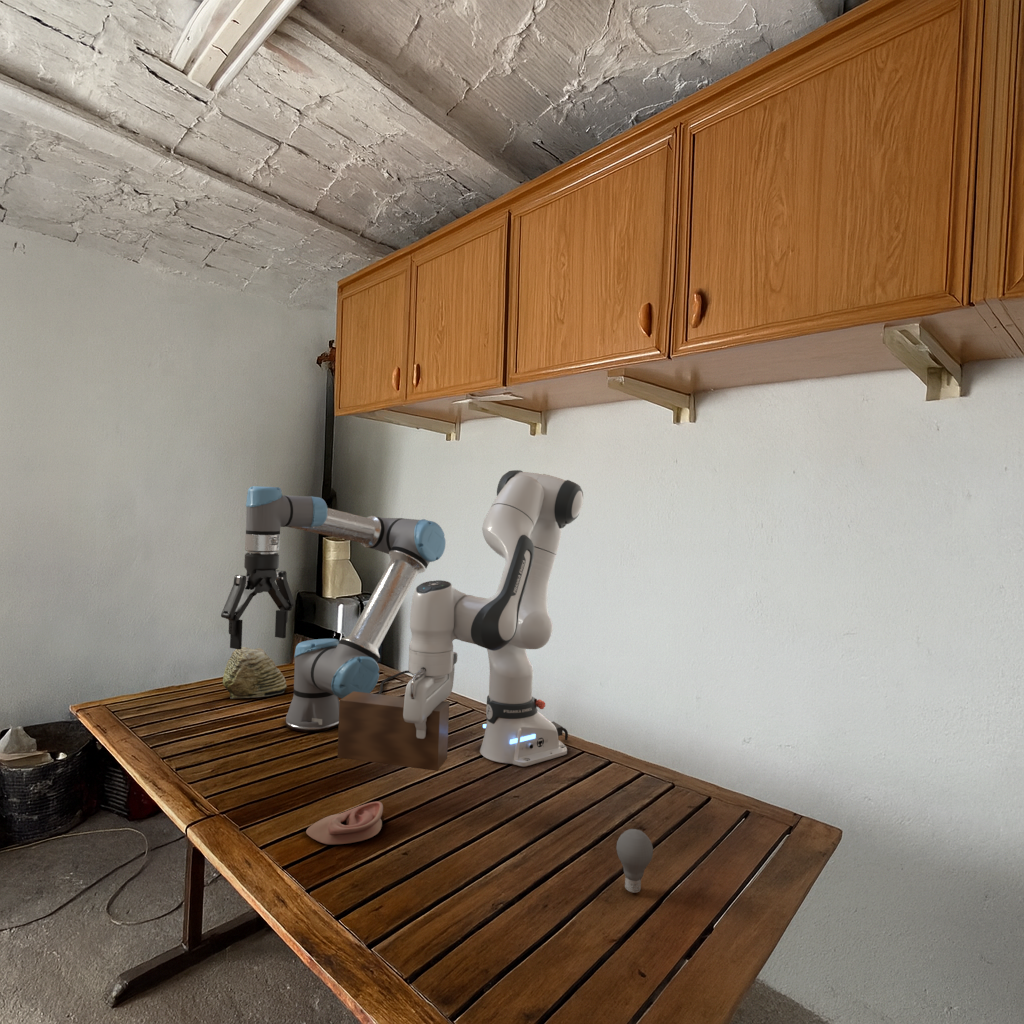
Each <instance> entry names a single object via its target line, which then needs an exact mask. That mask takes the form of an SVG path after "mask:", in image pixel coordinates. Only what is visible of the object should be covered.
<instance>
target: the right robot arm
mask: <svg viewBox="0 0 1024 1024" xmlns="http://www.w3.org/2000/svg"><path fill="white" fill-rule="evenodd" d="M583 502H584V492H583V489H582V487H581V486H580V484H578V483H576V482H575V481H572V480H570V479H566V480H565V479H563V478H560V477H558V476H553V475H550V474H545V473H543V474H542V473H537V472H528V471H523V470H520V469H519V470H518V469H515V470H508V471H507V472H506V473H504V474H503V475H502V476H501V477H500V479H499V481H498V484H497V487H496V497H495V499H494V500H493V503H492V504H491V506H490V507H489V509H488V512H487V513H486V515H485V517H484V520H483V523H482V527H481V530H482V536H483V538H484V541H485V542H486V544H487V545H488V546H489V547H490V549H492V550H493V551H494V553H496V554H497V555H498V556H500V557H502V558H503V559H505V560H504V561H505V564H504V568H503V571H502V574H501V576H500V580H499V584H498V587H497V589H496V593H494V595H492V596H490V597H489V598H487V597H481V596H475V595H471V594H467V593H464V592H461V591H460V590H458V589H456V588H455V587H454V586H453V584H452V582H450V581H447V580H441V579H438V580H429V581H425V582H422V583H420V584H419V585H417V586H416V588H415V589H414V591H413V595H412V599H411V605H410V613H409V614H410V617H409V629H410V632H411V637H410V641H409V647H408V666H407V667H408V670H407V671H409V672H410V673H409V674H411V673H412V674H414V675H412V674H411V675H412V678H411V679H410V680H409V681H408V682H407V684H406V686H405V691H404V697H405V699H404V710H403V718H404V721H405V722H408V723H415V727H416V737H417V738H420V739H424V738H425V737H426V736H427V727H426V721H427V717H428V716H429V715H430V714H431V713H432V711H433V710H434V709H435V708H436V707H437V706H438V705H439V704H440V703H441V702H442V701H444V702H445V701H446V700H447V698H448V697H450V696H451V694H452V692H453V688H454V680H455V670H456V669H455V668H456V666H455V665H456V664H457V663H458V653H457V652H456V651H454V643H453V642H454V640H458V641H461V642H465V643H468V644H471V645H476V646H478V647H481V648H485V649H486V651H487V657H488V658H487V659H488V664H489V667H488V669H489V675H488V676H489V679H488V695H487V697H486V707H485V716H486V718H485V719H486V722H485V723H484V724H482V728H483V729H485V730H484V733H483V734H484V735H483V739H482V742H481V746H480V748H479V753H480V754H481V756H483V757H484V758H485V759H487V760H490V761H492V762H496V763H500V764H501V763H502V764H509V765H514V766H518V767H529V766H532V765H535V764H539V763H542V762H546V761H549V760H553V759H556V758H559V757H563V756H566V755H568V747H567V746H566V745H565V743H563V742H562V741H561V740H559V737H560V736H561V737H563V732H564V740H565V741H568V740H569V732H568V730H567V729H566V727H563V726H562V725H561V724H559V723H557V722H555V721H550V720H549V719H548V718H547V717H546V716H544V715H543V714H542V713H541V712H539V711H538V709H539V710H544V709H545V707H546V702H545V701H544V700H542V699H538V698H536V697H534V696H533V681H534V667H533V664H532V662H531V661H530V658H529V656H528V653H527V650H538V649H539V650H540V649H541V648H543V647H544V646H546V645H547V644H548V643H549V641H550V640H551V637H552V634H553V630H554V626H553V621H552V618H551V616H550V613H549V609H548V608H549V607H548V594H549V593H548V591H549V585H550V580H551V576H552V571H553V568H554V566H555V561H556V559H557V558H556V557H557V555H558V550H559V547H560V542H561V538H562V531H563V529H564V528H565V527H566V526H567V525H570V524H572V523H573V522H575V520H576V519H577V518H578V517H579V515H580V513H581V511H582V508H583V504H584V503H583Z"/></svg>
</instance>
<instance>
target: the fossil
mask: <svg viewBox="0 0 1024 1024" xmlns="http://www.w3.org/2000/svg"><path fill="white" fill-rule="evenodd" d="M222 676H223V677H222V685H223V687H224V688H225V690H226V691H228V693H229V698H230V699H250V698H264V697H271V696H275V695H281V694H284V693H285V691H286V689H287V687H288V686H287V680H286V678H285V676H284V674H283V673H282V672H281V669H279V668H278V667H277V665H276V663H275V662H274V660H273V659H272V658H271V657H270V656H269V655H268V654H267V653H266V652H265V650H264V649H263V648H260V647H258V648H251V647H247V646H246V647H245V646H242V649H234V650H233V651H232V653H231V656H230V657H229V659H228V660H227V663H226V666H225V668H224V671H223V675H222Z"/></svg>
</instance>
